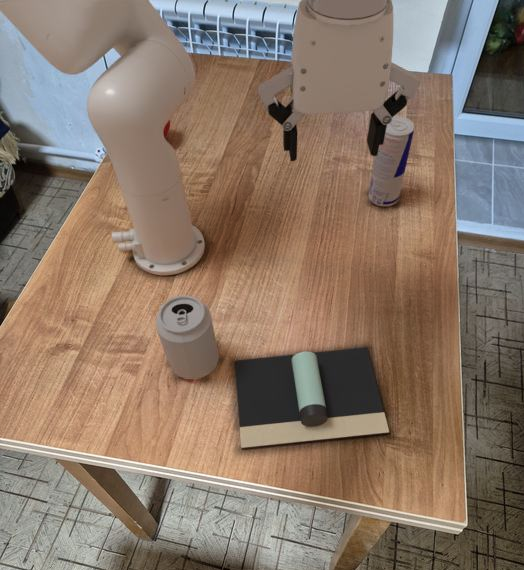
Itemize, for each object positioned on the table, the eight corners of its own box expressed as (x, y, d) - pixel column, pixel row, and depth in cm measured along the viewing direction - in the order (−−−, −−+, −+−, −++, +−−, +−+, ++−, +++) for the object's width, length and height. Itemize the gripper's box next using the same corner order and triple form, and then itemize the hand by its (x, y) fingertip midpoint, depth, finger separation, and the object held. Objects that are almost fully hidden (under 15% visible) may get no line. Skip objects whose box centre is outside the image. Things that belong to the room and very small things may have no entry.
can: (220, 339, 79) (210, 288, 69) (219, 381, 75) (208, 333, 65) (171, 341, 79) (155, 291, 69) (168, 383, 75) (150, 336, 65)
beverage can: (397, 209, 94) (414, 135, 81) (366, 206, 94) (378, 133, 82) (399, 190, 97) (415, 115, 84) (369, 187, 97) (381, 113, 85)
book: (241, 449, 69) (241, 447, 68) (234, 362, 77) (234, 360, 76) (388, 434, 69) (389, 432, 69) (367, 349, 77) (367, 346, 76)
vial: (290, 366, 75) (292, 352, 72) (315, 364, 75) (317, 350, 72) (299, 427, 69) (302, 415, 66) (326, 425, 70) (329, 413, 67)
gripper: (431, -33, 50) (396, 128, 64) (252, -22, 49) (258, 137, 64) (451, 3, 45) (410, 166, 60) (257, 14, 45) (262, 176, 59)
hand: (332, 151), depth 62 cm, fingers open, 9 cm apart
